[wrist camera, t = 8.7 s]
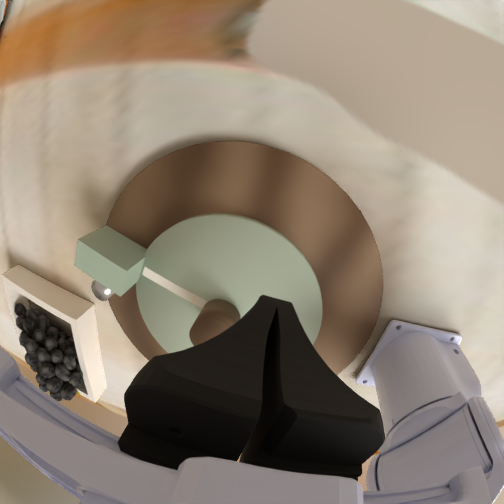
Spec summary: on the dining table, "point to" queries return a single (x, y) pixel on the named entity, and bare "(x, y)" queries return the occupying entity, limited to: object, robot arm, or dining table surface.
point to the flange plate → (203, 272)
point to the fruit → (49, 354)
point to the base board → (266, 211)
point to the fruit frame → (70, 310)
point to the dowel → (101, 291)
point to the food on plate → (3, 9)
